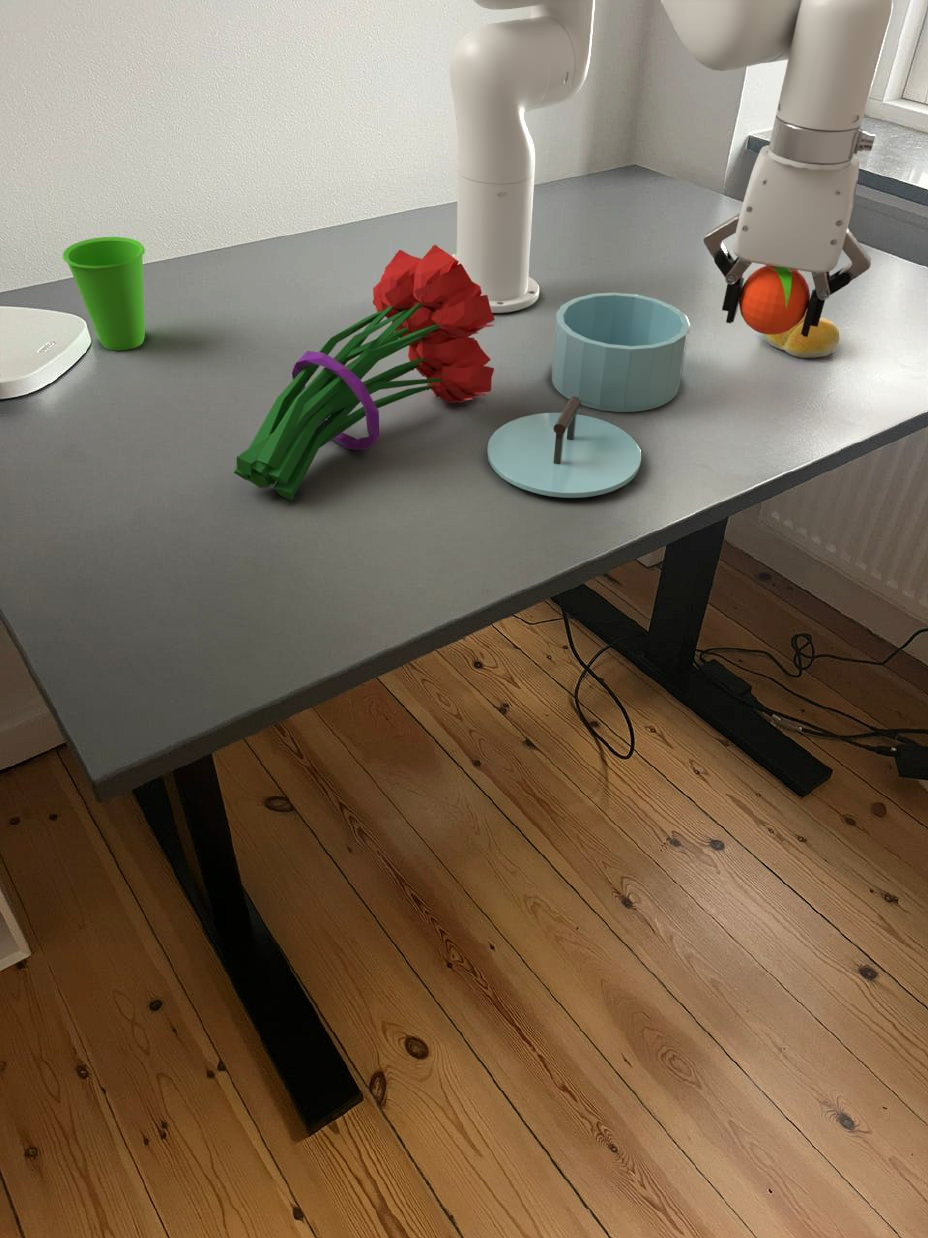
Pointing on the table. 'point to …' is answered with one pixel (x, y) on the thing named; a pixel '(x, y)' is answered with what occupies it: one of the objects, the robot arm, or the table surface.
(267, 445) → the bouquet
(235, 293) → the table surface
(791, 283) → the clementine
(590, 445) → the lid
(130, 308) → the cup
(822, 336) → the bread roll
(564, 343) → the pot
